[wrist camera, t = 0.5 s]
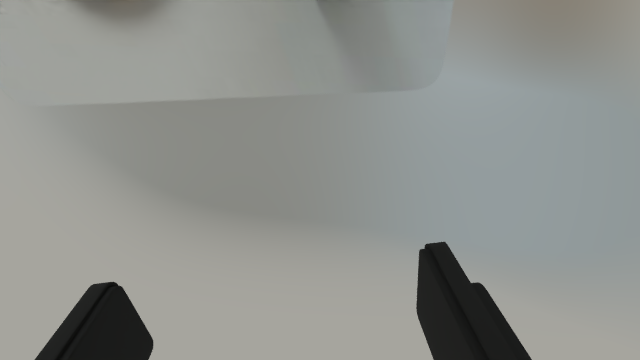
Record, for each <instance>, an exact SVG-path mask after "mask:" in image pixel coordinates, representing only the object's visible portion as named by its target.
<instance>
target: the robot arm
mask: <svg viewBox="0 0 640 360" xmlns="http://www.w3.org/2000/svg"><path fill="white" fill-rule="evenodd" d="M417 315H418V318H419V321H420V324H421V327H422V329H423V332H424V335H425V337H426V340H427V343H428V345H429V348H430V351H431V353H432V356H433V359H434V360H532V359H531V358H530V356H529V355H528V353H527V352H526V350H525V349H524V347H523V346H522V344H521V343H520V341H519V339H518V338H517V336H516V335H515V333H514V332H513V330H512V329H511V327H510V325H509V324H508V322H507V321H506V319H505V318H504V316H503V315H502V313H501V312H500V310H499V308H498V307H497V305H496V304H495V302H494V301H493V299H492V298H491V296H490V295H489V293H488V291H487V290H486V289H485V287H484V286H483V285H482V284H480V283H470V281H469V279H468V278H467V276H466V275H465V273H464V271H463V270H462V268H461V266H460V265H459V263H458V261H457V260H456V258H455V257H454V255H453V253H452V252H451V250H450V248H449V247H448V245H447V244H446V243H445V242H439V243H430V244H426V245H425V249H421V250H420V251H419V268H418V288H417ZM152 349H153V339H152V337H151V335H150V334H149V332H148V330H147V329H146V327H145V325H144V323H143V322H142V320H141V318H140V316H139V315H138V313H137V311H136V310H135V308H134V306H133V304H132V303H131V301H130V299H129V297H128V296H127V294H126V293H125V291H124V289H123V288H122V287H121V286H118V284H117V283H115V282H108V283H99V284H93V285H91V286H90V287H89V288H88V290H87V291H86V292H85V294H84V295H83V296H82V298H81V299H80V300H79V302H78V303H77V304H76V306H75V307H74V308H73V310H72V311H71V312H70V314H69V315H68V316H67V318H66V319H65V320H64V321H63V323H62V324H61V325H60V327H59V328H58V329H57V331H56V332H55V333H54V335H53V336H52V338H51V339H50V340H49V342H48V343H47V344H46V345H45V347H44V348H43V350H42V351H41V352H40V353H39V355H38V356H37V357H36V359H35V360H148V359H149V357H150V355H151V352H152Z"/></svg>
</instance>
